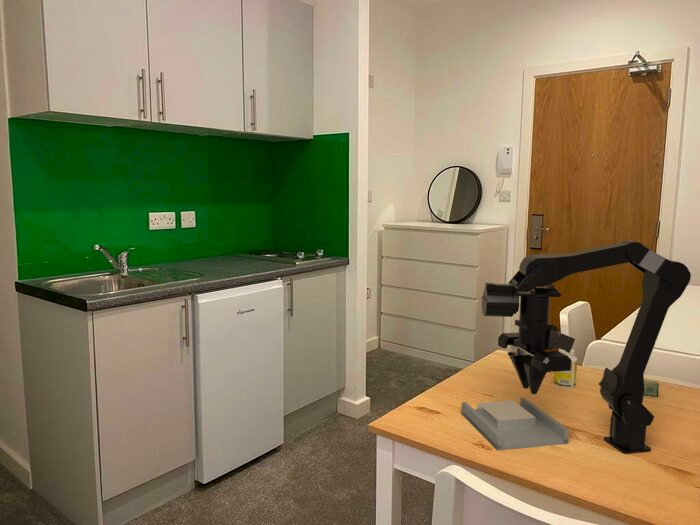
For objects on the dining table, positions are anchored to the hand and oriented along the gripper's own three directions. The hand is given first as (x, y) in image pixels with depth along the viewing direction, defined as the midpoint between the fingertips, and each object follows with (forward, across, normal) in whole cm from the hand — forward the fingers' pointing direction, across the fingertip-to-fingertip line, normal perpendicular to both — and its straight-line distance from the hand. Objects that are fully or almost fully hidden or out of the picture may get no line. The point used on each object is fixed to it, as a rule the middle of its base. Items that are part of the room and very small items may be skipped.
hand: (529, 391), depth 111 cm
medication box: (+12, +19, -41) cm, 47 cm away
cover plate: (+10, +10, 0) cm, 14 cm away
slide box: (+11, +6, 0) cm, 13 cm away
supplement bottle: (+11, +28, -28) cm, 41 cm away
